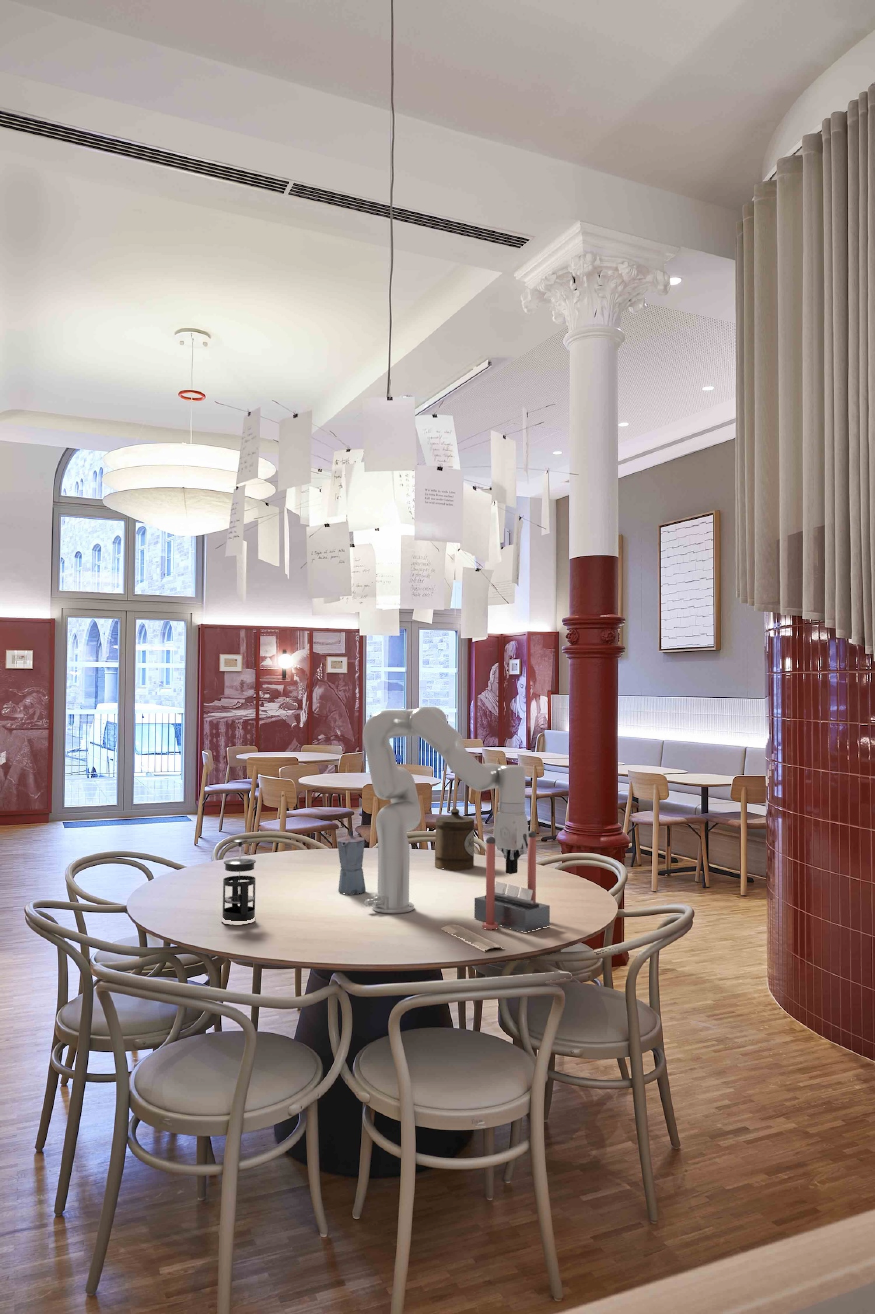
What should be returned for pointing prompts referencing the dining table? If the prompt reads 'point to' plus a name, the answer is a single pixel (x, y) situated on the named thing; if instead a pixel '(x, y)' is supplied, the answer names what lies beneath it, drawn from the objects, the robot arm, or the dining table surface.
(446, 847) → the wooden container
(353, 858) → the moka pot
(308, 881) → the dining table surface
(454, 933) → the beige flat board
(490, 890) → the near post
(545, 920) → the box
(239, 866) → the french press
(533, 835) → the far post
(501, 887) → the breaker paddles
